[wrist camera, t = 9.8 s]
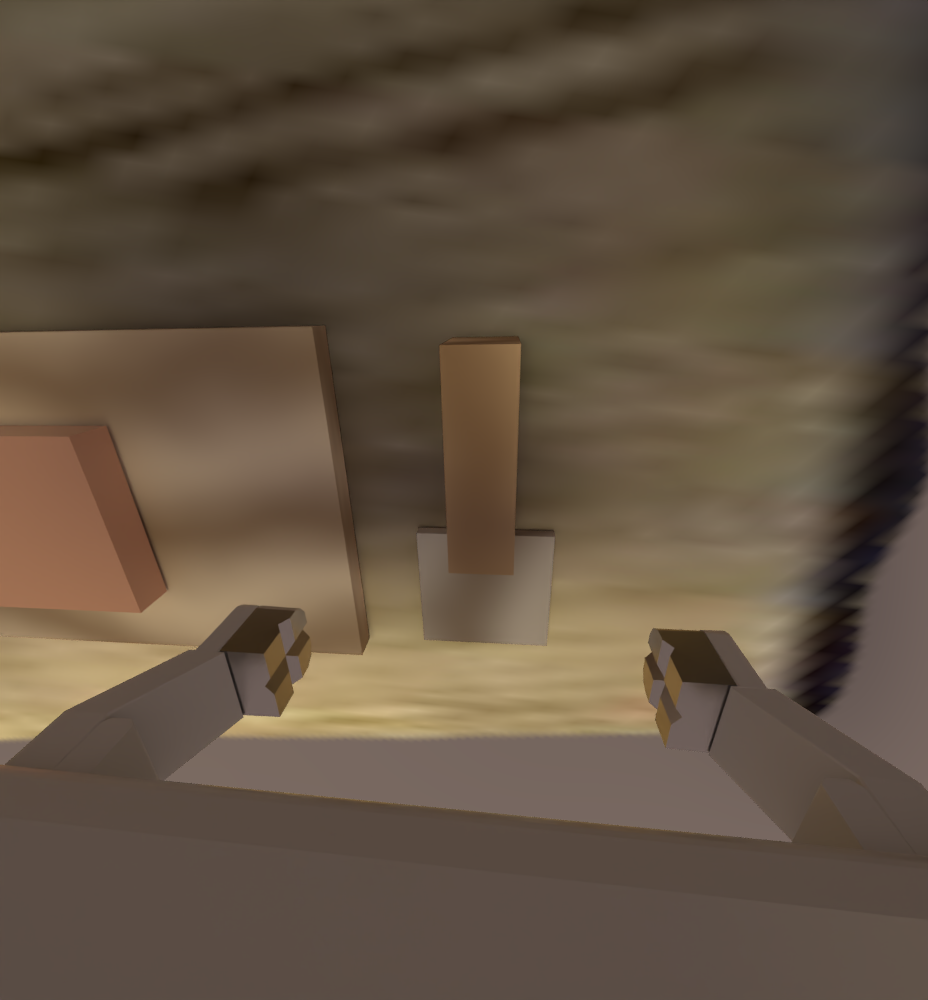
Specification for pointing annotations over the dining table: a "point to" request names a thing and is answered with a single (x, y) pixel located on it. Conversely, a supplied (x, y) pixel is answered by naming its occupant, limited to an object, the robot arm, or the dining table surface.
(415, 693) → the dining table surface
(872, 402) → the dining table surface
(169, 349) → the board
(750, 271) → the dining table surface
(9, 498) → the tile
